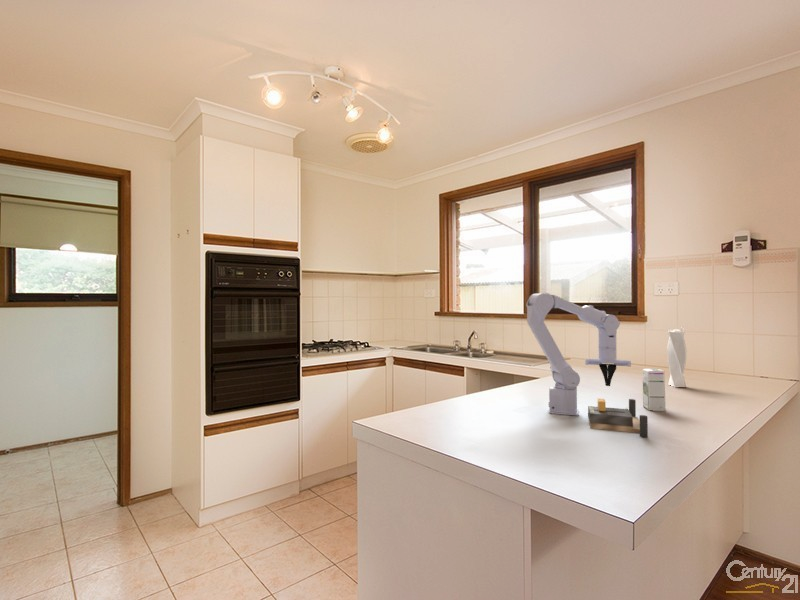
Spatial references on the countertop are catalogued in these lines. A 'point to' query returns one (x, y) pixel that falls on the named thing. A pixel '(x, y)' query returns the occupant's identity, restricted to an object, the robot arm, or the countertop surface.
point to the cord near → (643, 426)
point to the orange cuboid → (601, 405)
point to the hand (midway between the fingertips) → (607, 385)
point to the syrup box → (654, 389)
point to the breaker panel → (618, 428)
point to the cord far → (632, 407)
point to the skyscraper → (676, 357)
